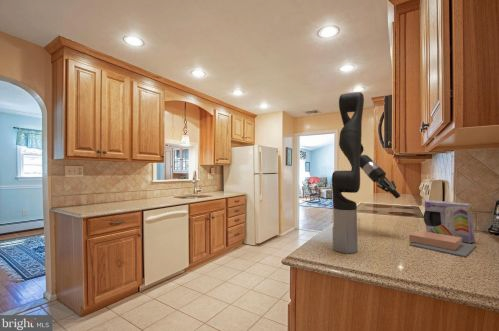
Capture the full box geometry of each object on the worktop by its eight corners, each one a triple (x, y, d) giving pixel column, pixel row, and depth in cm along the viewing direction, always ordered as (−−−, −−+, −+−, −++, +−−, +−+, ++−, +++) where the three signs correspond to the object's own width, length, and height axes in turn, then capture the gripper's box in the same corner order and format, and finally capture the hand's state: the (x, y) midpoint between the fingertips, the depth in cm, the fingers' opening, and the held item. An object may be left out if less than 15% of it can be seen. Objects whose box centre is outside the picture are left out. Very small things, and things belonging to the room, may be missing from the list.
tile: (409, 241, 107) (455, 251, 94) (409, 234, 107) (455, 242, 94) (418, 237, 114) (462, 245, 101) (418, 230, 114) (462, 237, 102)
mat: (465, 257, 89) (465, 255, 89) (409, 245, 103) (409, 244, 103) (476, 246, 101) (476, 245, 101) (424, 237, 116) (424, 236, 116)
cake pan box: (423, 233, 123) (422, 200, 123) (429, 232, 125) (428, 199, 125) (469, 244, 105) (468, 204, 105) (475, 242, 107) (474, 203, 107)
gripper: (371, 167, 119) (397, 193, 109) (385, 166, 126) (410, 191, 116) (362, 177, 124) (386, 203, 114) (375, 175, 131) (399, 200, 121)
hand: (398, 197), depth 115 cm, fingers closed
